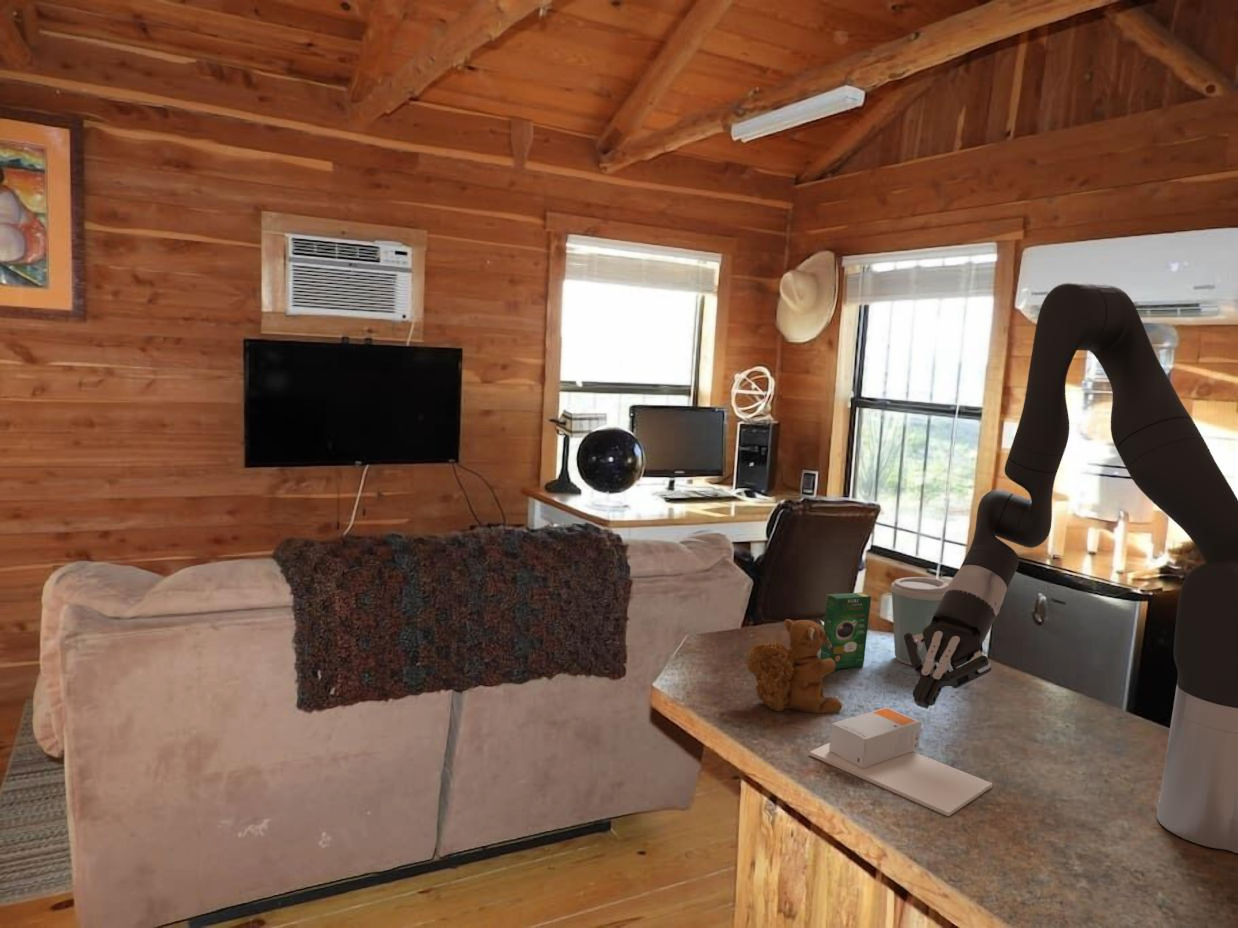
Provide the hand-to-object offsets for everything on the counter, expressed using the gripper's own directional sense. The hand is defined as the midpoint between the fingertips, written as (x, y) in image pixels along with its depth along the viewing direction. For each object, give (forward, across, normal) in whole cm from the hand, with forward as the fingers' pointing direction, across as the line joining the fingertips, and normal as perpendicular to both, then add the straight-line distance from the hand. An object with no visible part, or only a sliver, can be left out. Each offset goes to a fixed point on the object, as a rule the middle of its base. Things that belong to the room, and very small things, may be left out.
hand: (920, 704), depth 123 cm
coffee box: (-10, -26, +21) cm, 35 cm away
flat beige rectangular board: (+10, +1, +1) cm, 10 cm away
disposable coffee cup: (-20, -20, +31) cm, 42 cm away
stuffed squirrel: (+5, -21, +6) cm, 23 cm away
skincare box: (+2, -3, +4) cm, 6 cm away
